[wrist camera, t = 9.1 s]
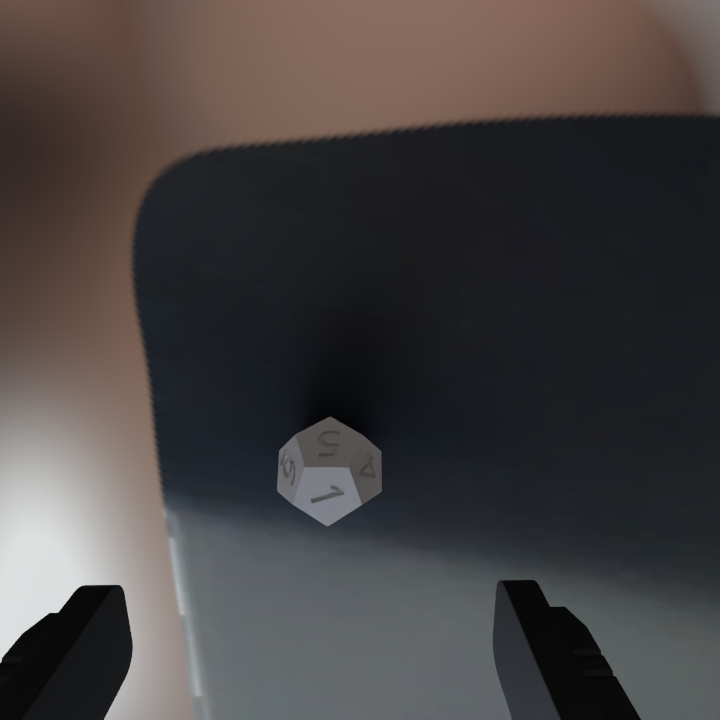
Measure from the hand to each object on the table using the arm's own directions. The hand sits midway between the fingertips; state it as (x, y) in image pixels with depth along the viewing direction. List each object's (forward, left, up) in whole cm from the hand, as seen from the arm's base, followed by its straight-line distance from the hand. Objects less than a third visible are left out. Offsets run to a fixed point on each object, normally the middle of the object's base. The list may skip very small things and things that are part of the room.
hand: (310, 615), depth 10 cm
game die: (0, 0, -8) cm, 8 cm away
